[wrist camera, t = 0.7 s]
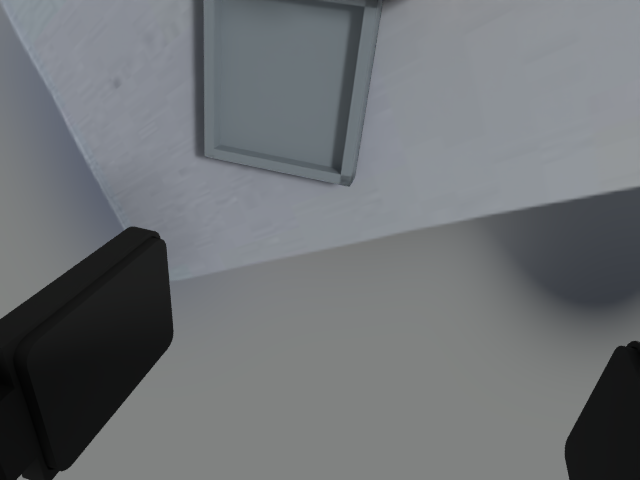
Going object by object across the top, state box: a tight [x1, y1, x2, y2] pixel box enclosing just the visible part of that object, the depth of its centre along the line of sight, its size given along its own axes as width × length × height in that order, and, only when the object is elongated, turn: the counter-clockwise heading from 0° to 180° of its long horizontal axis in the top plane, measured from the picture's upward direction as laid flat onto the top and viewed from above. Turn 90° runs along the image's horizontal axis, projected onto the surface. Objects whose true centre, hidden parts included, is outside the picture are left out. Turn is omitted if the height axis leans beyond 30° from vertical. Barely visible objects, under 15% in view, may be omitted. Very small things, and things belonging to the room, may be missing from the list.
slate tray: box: [204, 0, 383, 187], centre depth 34 cm, size 13×12×2 cm
